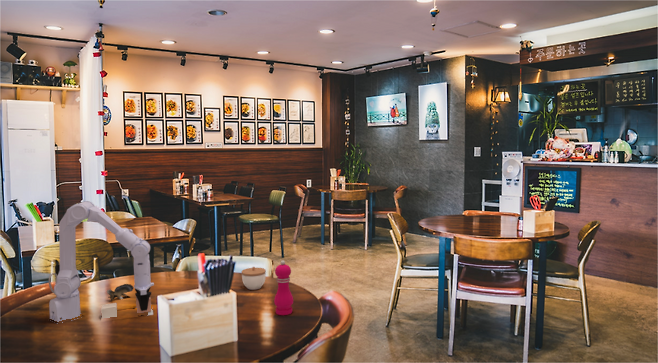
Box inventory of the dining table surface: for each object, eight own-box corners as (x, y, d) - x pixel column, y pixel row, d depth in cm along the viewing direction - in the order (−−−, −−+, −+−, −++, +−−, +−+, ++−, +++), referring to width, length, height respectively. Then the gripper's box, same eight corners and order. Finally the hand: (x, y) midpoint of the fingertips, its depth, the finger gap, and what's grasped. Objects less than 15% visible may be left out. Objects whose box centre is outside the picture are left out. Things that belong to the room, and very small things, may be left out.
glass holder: (83, 297, 195) (81, 262, 194) (61, 309, 181) (59, 271, 180) (64, 297, 196) (62, 262, 195) (40, 308, 182) (38, 271, 181)
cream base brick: (101, 319, 167) (101, 308, 167) (102, 315, 172) (101, 304, 171) (116, 317, 169) (116, 306, 169) (117, 313, 174) (116, 302, 174)
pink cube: (137, 313, 172) (136, 300, 172) (136, 309, 177) (136, 296, 176) (151, 311, 174) (150, 298, 174) (150, 307, 179) (150, 294, 178)
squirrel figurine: (118, 302, 185) (137, 291, 192) (109, 287, 186) (128, 277, 193) (111, 308, 189) (129, 298, 197) (102, 294, 190) (120, 284, 197)
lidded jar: (239, 286, 207) (238, 265, 207) (262, 282, 212) (261, 262, 211) (245, 292, 198) (244, 271, 197) (269, 289, 202) (268, 268, 202)
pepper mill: (290, 316, 169) (289, 263, 167) (271, 315, 170) (270, 262, 169) (295, 309, 176) (294, 258, 174) (277, 308, 177) (276, 257, 176)
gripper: (154, 276, 169) (156, 312, 170) (152, 267, 183) (153, 300, 184) (133, 279, 167) (135, 315, 168) (133, 269, 180) (134, 303, 181)
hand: (143, 308), depth 175 cm, fingers closed on pink cube, 5 cm apart
